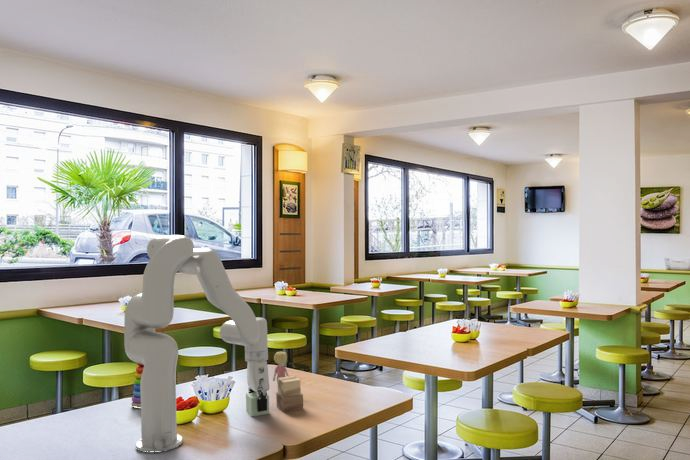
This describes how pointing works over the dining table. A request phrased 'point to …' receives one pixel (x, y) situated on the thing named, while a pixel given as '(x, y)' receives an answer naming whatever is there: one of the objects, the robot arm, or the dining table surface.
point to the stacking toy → (137, 386)
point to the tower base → (289, 402)
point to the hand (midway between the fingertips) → (257, 406)
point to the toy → (280, 365)
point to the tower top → (289, 386)
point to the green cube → (254, 404)
